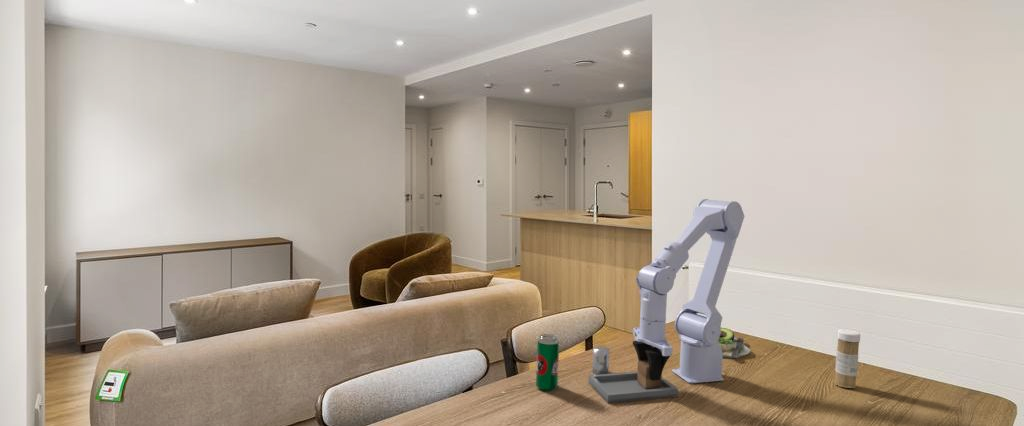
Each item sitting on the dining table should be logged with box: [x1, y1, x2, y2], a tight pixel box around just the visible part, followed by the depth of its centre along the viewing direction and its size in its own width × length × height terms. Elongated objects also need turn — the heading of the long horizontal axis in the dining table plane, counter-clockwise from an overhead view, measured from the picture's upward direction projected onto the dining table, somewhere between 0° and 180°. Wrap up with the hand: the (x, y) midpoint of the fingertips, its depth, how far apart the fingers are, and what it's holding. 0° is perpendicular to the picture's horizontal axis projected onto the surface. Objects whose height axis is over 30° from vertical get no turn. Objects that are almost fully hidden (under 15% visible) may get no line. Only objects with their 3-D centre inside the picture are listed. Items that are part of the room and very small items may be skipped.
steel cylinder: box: [591, 345, 610, 375], centre depth 131 cm, size 4×4×6 cm
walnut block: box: [637, 360, 663, 389], centre depth 122 cm, size 4×4×5 cm
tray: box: [587, 371, 679, 404], centre depth 121 cm, size 17×11×2 cm, turn 104°
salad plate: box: [717, 327, 751, 359], centre depth 149 cm, size 19×18×5 cm
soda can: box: [535, 333, 560, 392], centre depth 121 cm, size 5×5×12 cm
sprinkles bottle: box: [833, 328, 861, 389], centre depth 125 cm, size 5×5×14 cm
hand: (650, 375), depth 122 cm, fingers closed on walnut block, 4 cm apart
